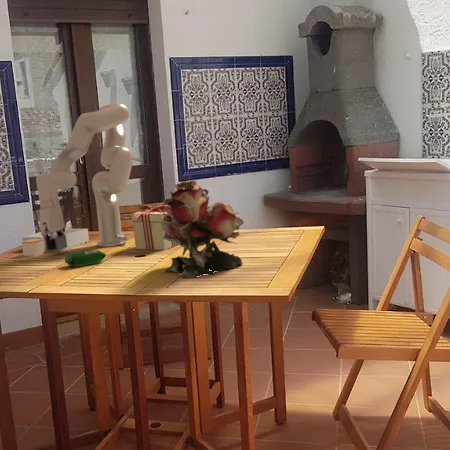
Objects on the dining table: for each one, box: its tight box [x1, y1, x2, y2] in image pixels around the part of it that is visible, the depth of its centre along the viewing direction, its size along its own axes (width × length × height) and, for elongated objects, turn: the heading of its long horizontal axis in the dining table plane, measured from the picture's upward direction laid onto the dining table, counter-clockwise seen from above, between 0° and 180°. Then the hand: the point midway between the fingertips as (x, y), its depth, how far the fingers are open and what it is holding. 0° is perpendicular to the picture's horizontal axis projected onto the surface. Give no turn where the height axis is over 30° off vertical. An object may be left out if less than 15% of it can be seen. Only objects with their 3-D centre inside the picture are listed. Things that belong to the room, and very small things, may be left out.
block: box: [44, 235, 67, 252], centre depth 260 cm, size 6×6×5 cm
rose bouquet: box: [161, 180, 244, 279], centre depth 218 cm, size 26×29×30 cm
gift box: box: [130, 204, 179, 251], centre depth 262 cm, size 17×18×17 cm
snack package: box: [64, 248, 107, 268], centre depth 239 cm, size 7×16×5 cm, turn 122°
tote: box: [21, 228, 90, 252], centre depth 282 cm, size 20×20×6 cm
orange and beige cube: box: [21, 239, 45, 257], centre depth 266 cm, size 6×6×6 cm
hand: (56, 247), depth 261 cm, fingers closed on block, 6 cm apart
